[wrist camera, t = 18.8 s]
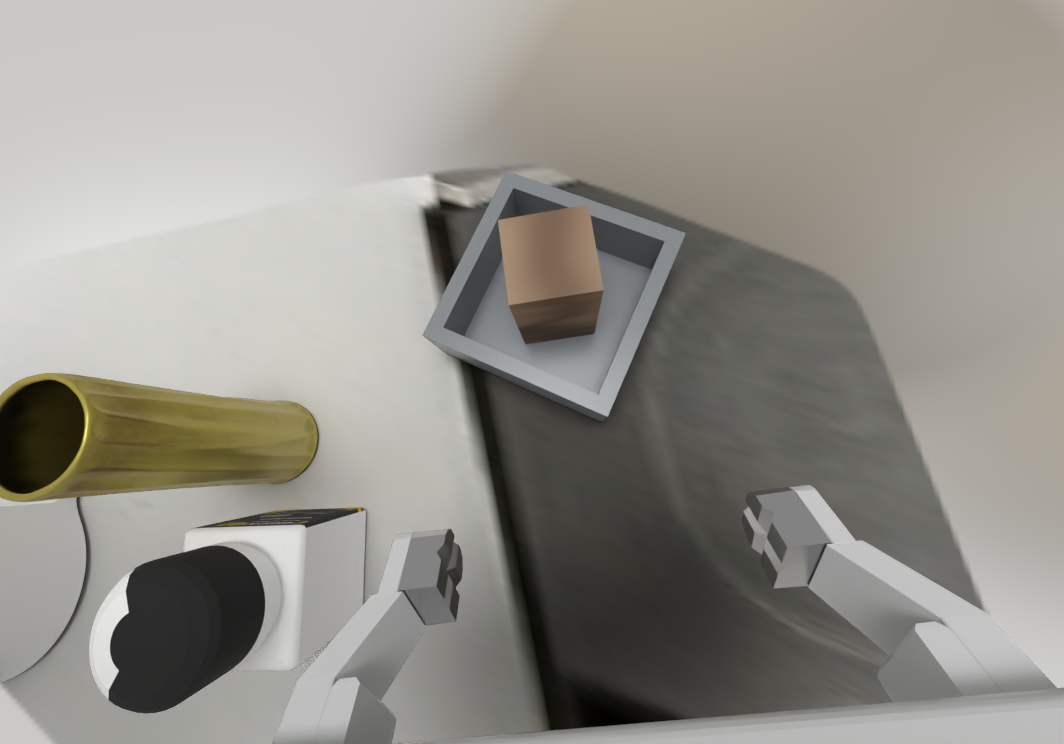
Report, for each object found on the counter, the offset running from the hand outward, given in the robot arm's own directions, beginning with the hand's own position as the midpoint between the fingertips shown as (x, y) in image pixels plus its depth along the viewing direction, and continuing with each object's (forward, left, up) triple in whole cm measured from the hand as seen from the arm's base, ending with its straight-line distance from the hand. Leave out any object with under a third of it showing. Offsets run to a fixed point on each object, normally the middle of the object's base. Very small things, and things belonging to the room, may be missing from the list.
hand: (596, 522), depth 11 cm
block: (-7, +10, -16) cm, 20 cm away
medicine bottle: (-15, -13, -17) cm, 26 cm away
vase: (-22, -7, -17) cm, 28 cm away
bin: (-7, +10, -17) cm, 21 cm away
